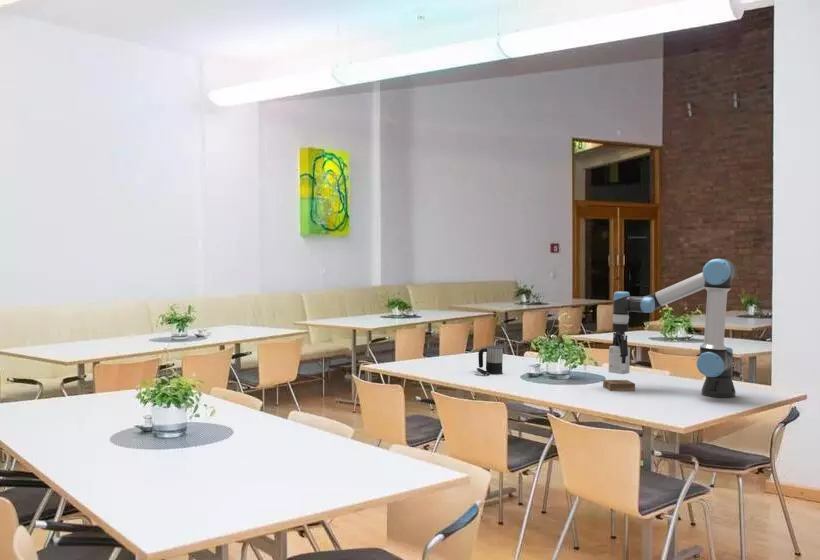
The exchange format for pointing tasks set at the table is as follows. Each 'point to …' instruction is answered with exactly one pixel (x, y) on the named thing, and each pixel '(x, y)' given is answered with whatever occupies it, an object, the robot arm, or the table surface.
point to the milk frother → (491, 360)
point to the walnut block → (619, 385)
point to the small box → (617, 360)
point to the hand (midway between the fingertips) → (619, 368)
